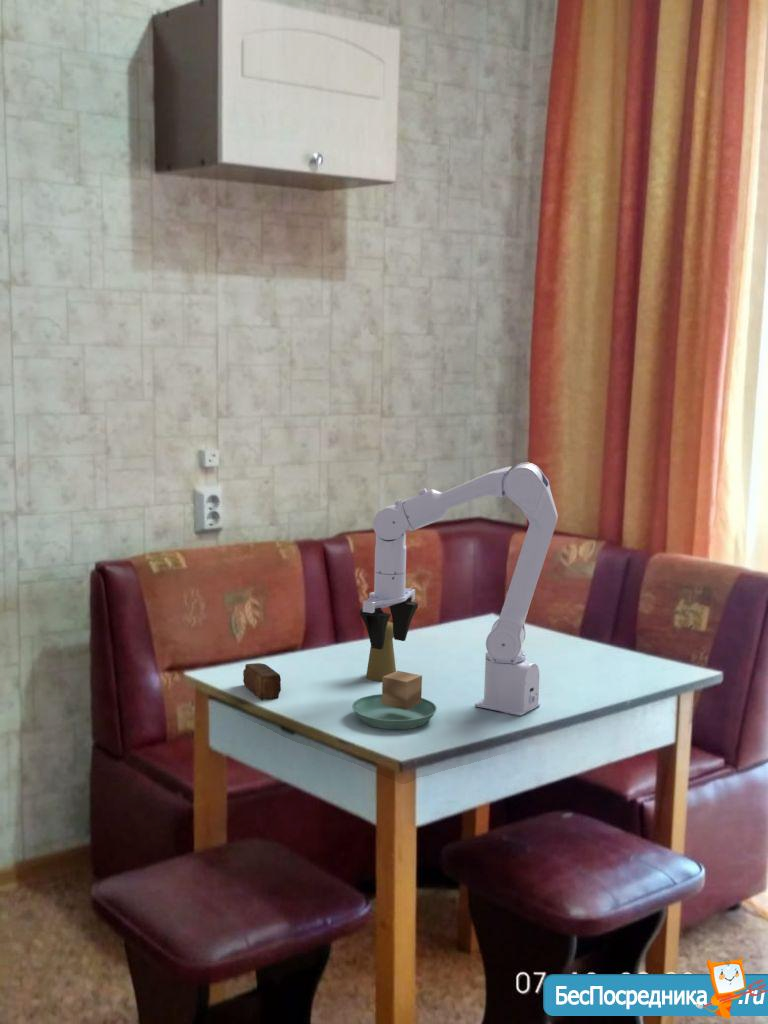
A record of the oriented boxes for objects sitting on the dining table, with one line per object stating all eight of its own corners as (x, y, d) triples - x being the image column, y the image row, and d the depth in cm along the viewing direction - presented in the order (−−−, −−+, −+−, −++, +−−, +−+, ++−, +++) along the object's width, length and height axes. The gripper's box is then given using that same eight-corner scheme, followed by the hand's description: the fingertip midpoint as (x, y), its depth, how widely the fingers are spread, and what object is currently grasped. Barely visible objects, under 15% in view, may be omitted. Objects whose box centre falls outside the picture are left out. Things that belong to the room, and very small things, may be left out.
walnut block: (421, 703, 208) (422, 675, 208) (405, 710, 204) (406, 681, 203) (397, 697, 211) (398, 670, 210) (381, 704, 207) (382, 676, 206)
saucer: (338, 727, 202) (338, 712, 202) (372, 703, 216) (372, 689, 216) (418, 739, 197) (418, 724, 197) (448, 714, 210) (448, 700, 210)
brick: (281, 699, 217) (281, 674, 216) (260, 701, 215) (261, 676, 214) (262, 683, 226) (262, 659, 226) (242, 685, 225) (242, 661, 224)
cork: (360, 678, 231) (361, 623, 229) (375, 670, 236) (376, 617, 234) (387, 682, 228) (389, 627, 226) (402, 675, 233) (403, 620, 232)
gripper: (393, 563, 224) (391, 633, 226) (349, 574, 212) (348, 648, 214) (425, 567, 220) (423, 638, 222) (382, 580, 208) (380, 655, 210)
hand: (388, 644), depth 218 cm, fingers open, 7 cm apart
